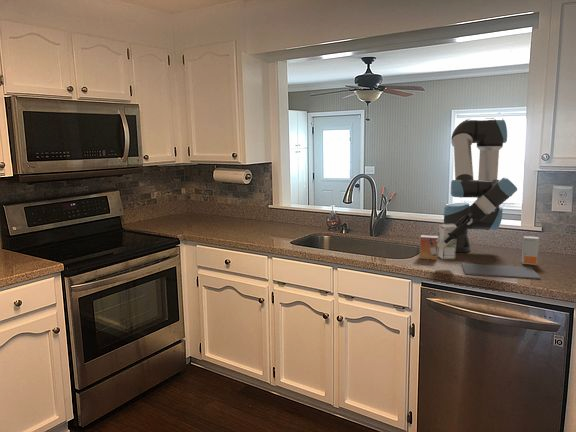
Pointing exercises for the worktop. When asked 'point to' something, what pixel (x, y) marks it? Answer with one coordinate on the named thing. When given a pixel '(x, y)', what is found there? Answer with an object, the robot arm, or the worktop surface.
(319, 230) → the worktop surface
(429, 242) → the small box
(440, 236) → the syrup box
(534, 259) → the skincare box
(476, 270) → the charcoal mat
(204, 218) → the worktop surface
